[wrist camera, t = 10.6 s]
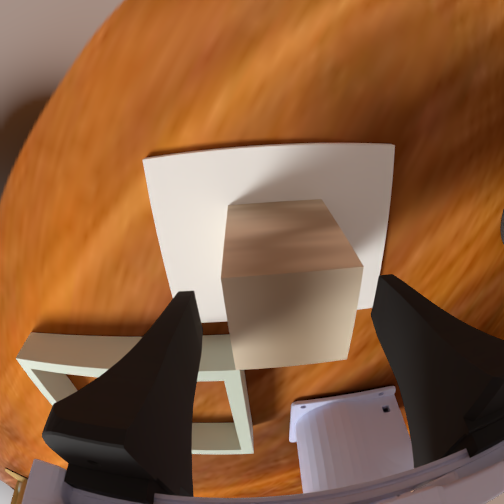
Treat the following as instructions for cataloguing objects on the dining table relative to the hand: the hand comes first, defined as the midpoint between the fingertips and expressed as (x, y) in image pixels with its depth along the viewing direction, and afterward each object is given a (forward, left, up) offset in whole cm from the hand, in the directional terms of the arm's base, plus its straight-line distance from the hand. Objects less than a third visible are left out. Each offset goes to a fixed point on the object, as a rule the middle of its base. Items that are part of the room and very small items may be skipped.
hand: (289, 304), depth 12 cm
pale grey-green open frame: (+11, +13, -5) cm, 18 cm away
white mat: (0, 0, -5) cm, 5 cm away
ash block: (0, 0, -5) cm, 5 cm away
